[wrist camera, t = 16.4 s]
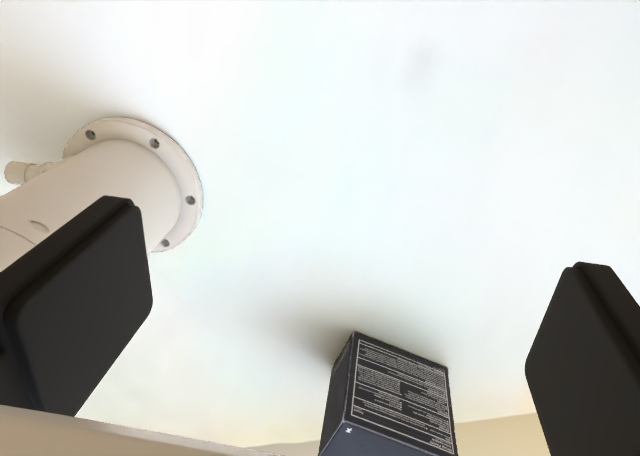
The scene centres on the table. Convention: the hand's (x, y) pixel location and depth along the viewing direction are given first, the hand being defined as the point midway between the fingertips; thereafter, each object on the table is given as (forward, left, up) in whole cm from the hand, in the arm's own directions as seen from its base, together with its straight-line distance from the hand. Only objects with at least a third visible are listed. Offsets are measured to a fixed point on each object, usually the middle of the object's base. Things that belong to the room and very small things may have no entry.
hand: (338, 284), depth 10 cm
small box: (+5, -29, -26) cm, 40 cm away
